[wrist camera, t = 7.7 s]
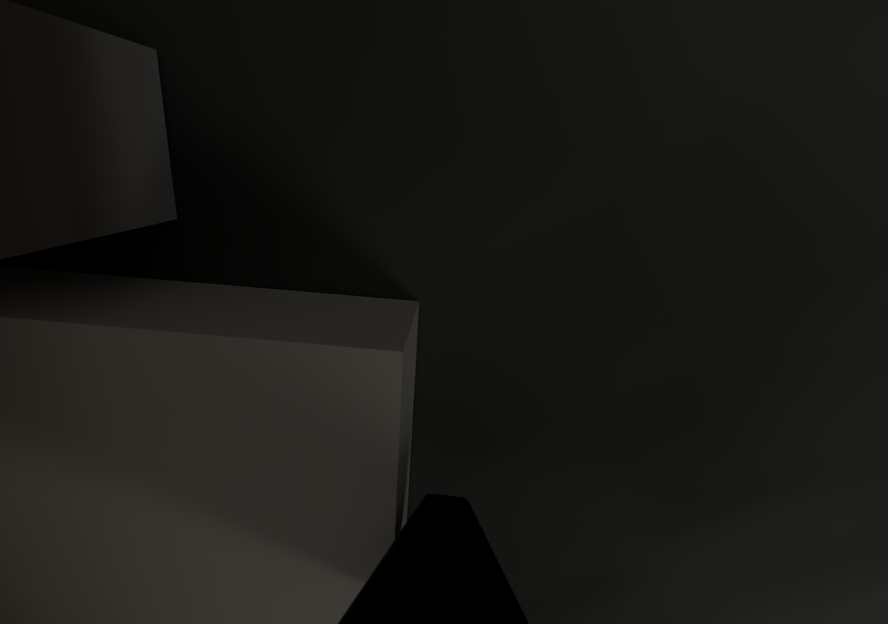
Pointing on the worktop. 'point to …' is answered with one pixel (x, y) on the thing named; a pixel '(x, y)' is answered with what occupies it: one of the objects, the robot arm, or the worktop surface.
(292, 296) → the thin gray tile
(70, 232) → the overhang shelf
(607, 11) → the worktop surface
